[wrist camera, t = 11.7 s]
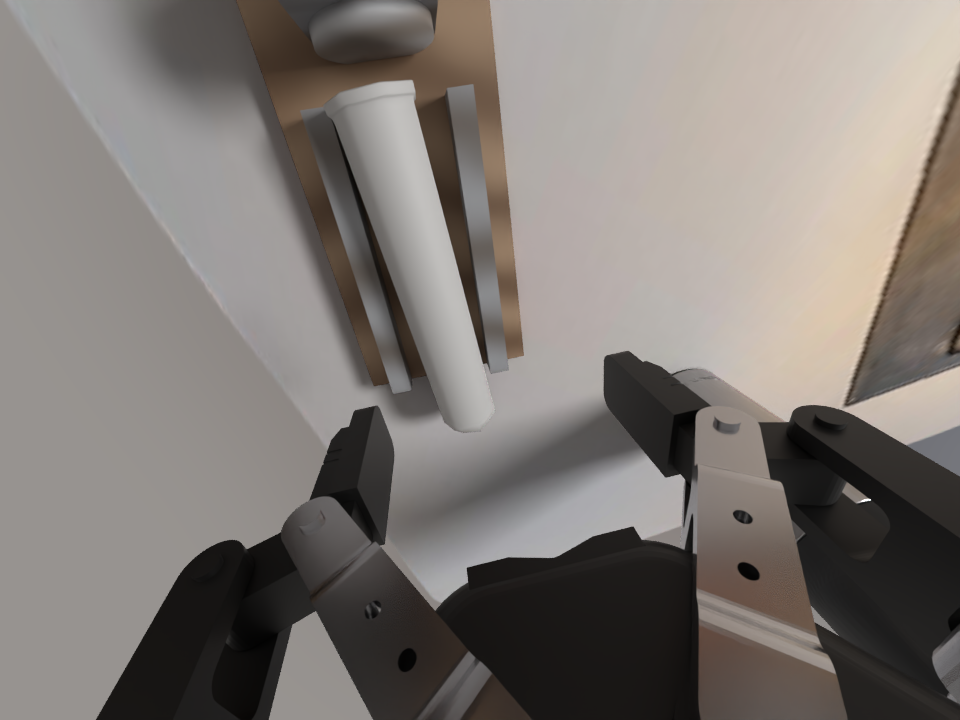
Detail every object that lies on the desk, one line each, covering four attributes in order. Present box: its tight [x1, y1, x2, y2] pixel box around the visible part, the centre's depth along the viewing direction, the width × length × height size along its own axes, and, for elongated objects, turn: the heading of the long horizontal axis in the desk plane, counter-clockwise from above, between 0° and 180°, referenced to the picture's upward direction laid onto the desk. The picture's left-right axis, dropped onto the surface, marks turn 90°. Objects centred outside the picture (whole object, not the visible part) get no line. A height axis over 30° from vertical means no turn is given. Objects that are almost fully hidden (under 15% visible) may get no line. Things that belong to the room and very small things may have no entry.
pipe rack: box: [236, 0, 524, 394], centre depth 21 cm, size 28×14×10 cm, turn 9°
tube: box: [324, 80, 495, 433], centre depth 26 cm, size 5×5×25 cm
